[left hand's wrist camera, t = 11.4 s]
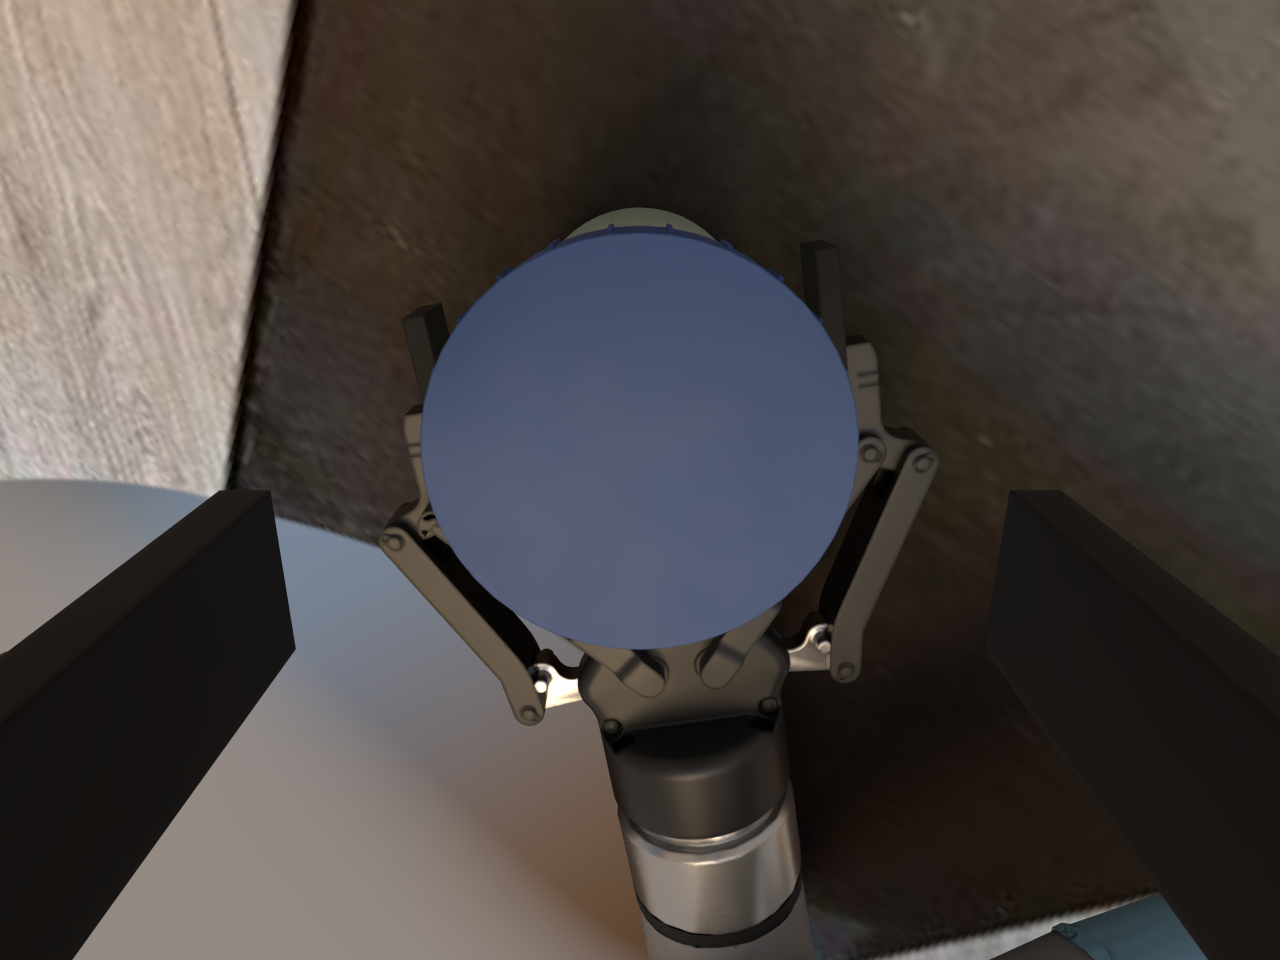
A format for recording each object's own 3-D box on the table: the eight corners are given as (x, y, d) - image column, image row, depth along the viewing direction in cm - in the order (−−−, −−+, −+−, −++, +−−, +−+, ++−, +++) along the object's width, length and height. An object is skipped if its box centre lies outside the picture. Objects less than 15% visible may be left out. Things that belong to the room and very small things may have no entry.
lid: (510, 642, 22) (497, 690, 20) (381, 286, 19) (350, 300, 17) (869, 558, 21) (893, 599, 19) (796, 171, 18) (816, 172, 16)
